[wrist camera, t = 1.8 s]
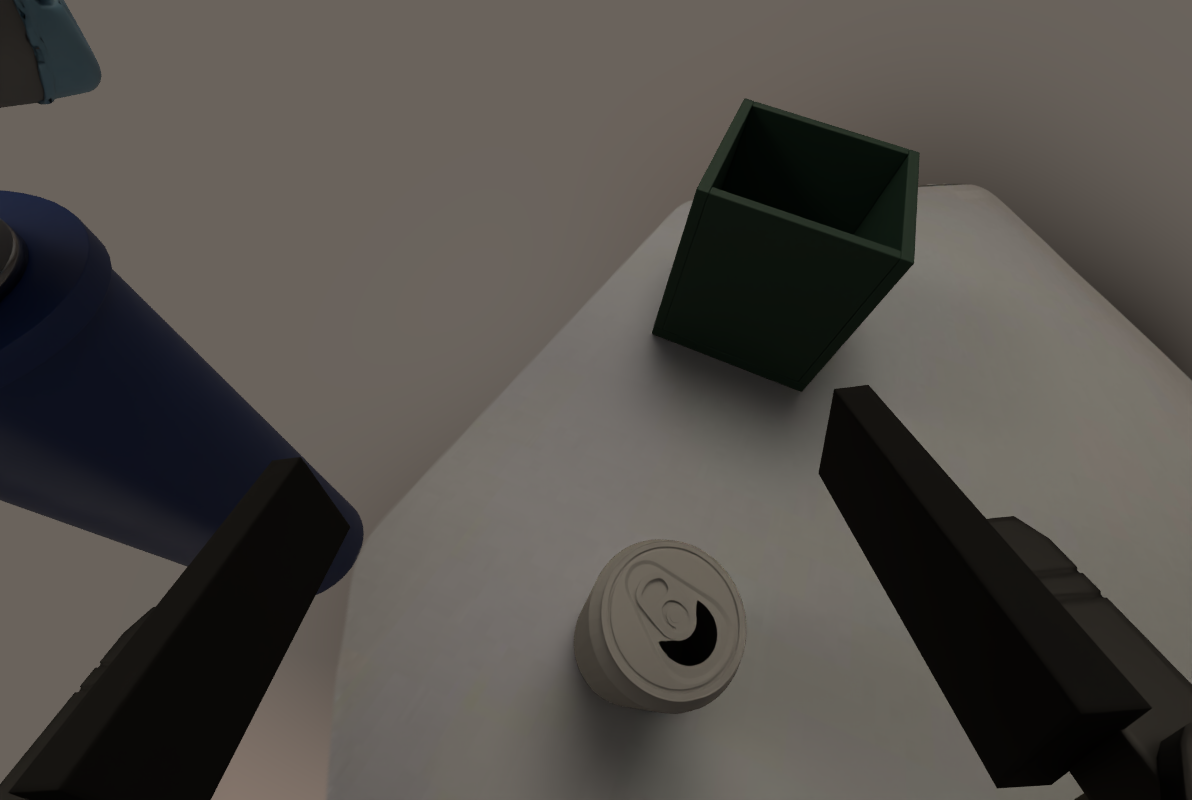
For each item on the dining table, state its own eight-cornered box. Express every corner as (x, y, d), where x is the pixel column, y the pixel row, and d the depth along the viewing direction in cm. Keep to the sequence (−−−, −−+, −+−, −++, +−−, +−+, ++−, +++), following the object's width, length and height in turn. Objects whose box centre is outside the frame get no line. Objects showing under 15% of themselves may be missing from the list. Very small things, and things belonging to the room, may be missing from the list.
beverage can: (624, 735, 25) (680, 764, 15) (550, 636, 28) (556, 604, 17) (700, 648, 28) (791, 623, 18) (627, 564, 30) (671, 499, 20)
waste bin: (651, 333, 41) (696, 188, 29) (694, 243, 48) (744, 97, 36) (801, 392, 39) (914, 263, 27) (823, 289, 46) (920, 152, 34)
